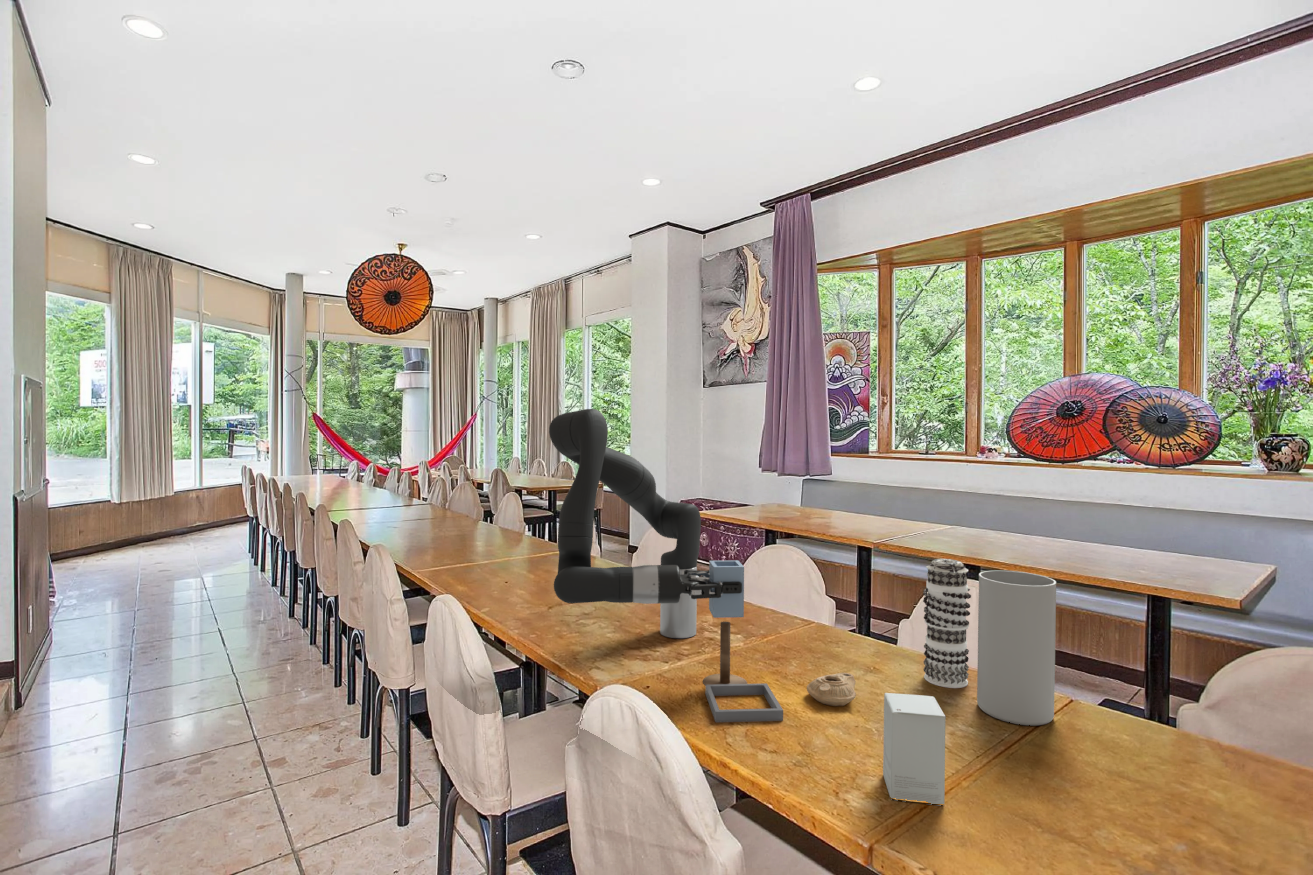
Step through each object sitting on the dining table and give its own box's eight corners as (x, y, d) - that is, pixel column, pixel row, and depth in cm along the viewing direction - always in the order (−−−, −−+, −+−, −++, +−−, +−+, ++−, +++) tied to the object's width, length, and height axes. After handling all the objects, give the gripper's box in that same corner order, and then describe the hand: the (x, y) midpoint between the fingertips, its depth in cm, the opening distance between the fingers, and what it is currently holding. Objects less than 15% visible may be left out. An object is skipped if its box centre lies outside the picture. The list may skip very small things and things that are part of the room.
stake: (699, 678, 135) (700, 616, 135) (742, 677, 136) (743, 616, 136) (706, 696, 126) (706, 630, 126) (751, 695, 127) (752, 629, 127)
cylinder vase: (1026, 733, 112) (1028, 589, 112) (962, 705, 123) (964, 574, 123) (1069, 718, 118) (1071, 581, 117) (1004, 693, 129) (1006, 568, 128)
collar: (709, 608, 134) (709, 560, 133) (737, 608, 134) (738, 560, 134) (713, 617, 128) (714, 567, 127) (743, 617, 128) (744, 566, 128)
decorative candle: (976, 679, 136) (977, 560, 135) (961, 692, 129) (963, 567, 129) (931, 668, 142) (933, 554, 142) (915, 680, 135) (916, 560, 135)
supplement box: (945, 807, 90) (947, 716, 90) (889, 800, 91) (890, 711, 91) (934, 779, 97) (935, 695, 97) (882, 773, 98) (883, 690, 98)
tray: (705, 698, 125) (705, 684, 125) (766, 697, 126) (766, 683, 126) (715, 727, 113) (715, 711, 113) (783, 725, 114) (783, 710, 114)
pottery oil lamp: (871, 694, 127) (877, 669, 123) (836, 732, 120) (841, 706, 116) (833, 668, 132) (837, 643, 129) (797, 702, 125) (801, 677, 122)
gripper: (658, 573, 122) (745, 572, 124) (653, 558, 137) (731, 557, 138) (657, 613, 123) (745, 611, 124) (652, 593, 137) (731, 592, 138)
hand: (737, 583), depth 131 cm, fingers closed on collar, 6 cm apart
